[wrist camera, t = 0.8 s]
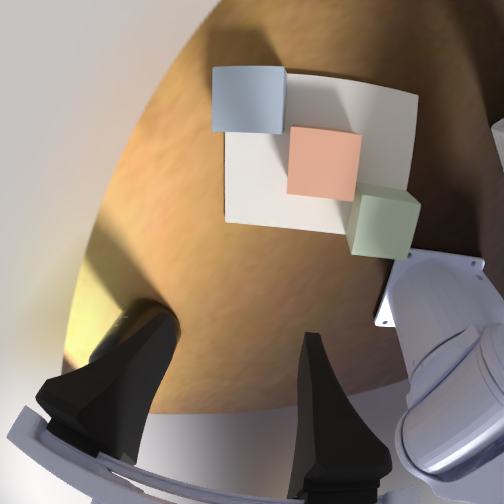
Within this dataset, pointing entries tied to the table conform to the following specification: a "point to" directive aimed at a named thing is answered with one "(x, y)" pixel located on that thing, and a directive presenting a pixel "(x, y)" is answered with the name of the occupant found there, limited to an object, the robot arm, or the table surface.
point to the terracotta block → (323, 162)
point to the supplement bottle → (131, 325)
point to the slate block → (249, 99)
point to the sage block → (382, 222)
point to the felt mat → (330, 116)
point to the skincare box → (499, 139)
